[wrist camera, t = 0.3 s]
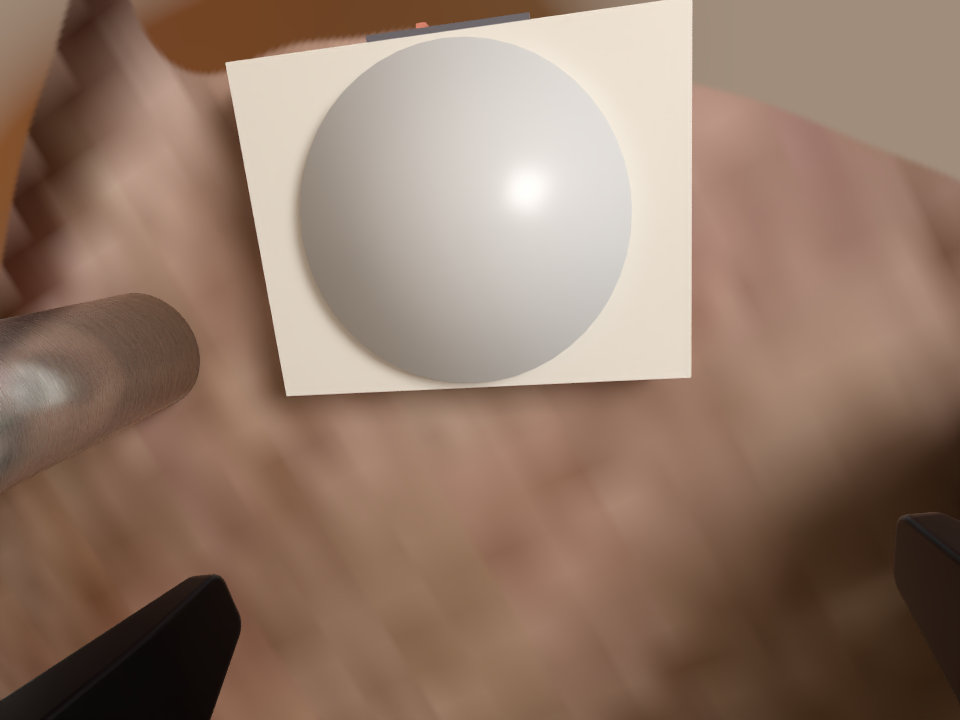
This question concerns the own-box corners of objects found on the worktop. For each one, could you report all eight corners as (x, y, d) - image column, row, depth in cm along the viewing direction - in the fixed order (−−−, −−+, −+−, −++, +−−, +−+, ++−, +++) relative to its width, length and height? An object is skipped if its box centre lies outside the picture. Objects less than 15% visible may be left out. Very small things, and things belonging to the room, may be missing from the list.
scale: (677, 360, 21) (694, 381, 18) (311, 378, 23) (280, 400, 20) (676, 3, 18) (696, -32, 15) (257, 61, 20) (212, 40, 17)
